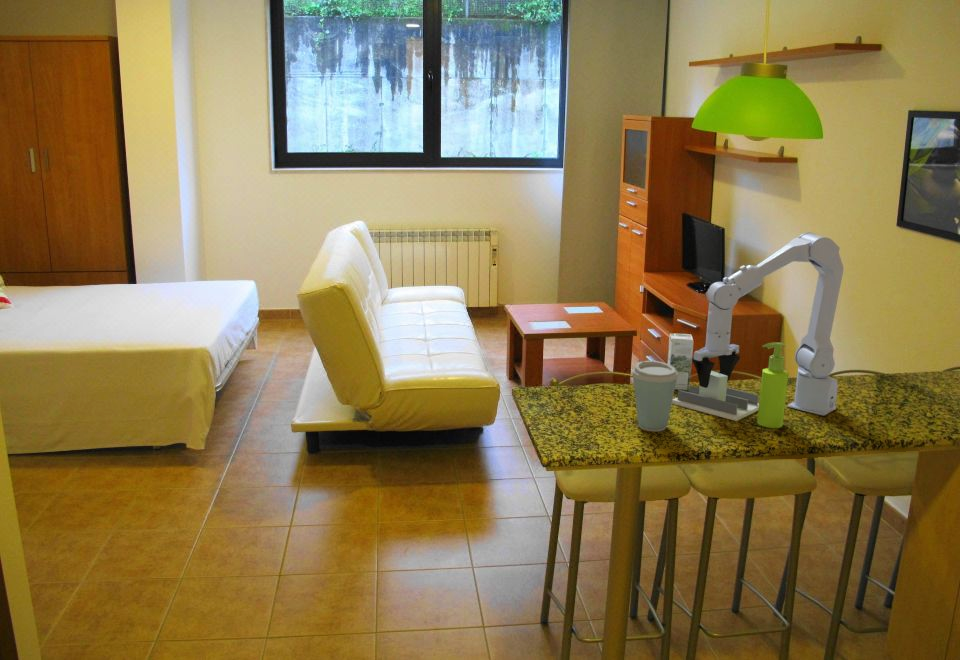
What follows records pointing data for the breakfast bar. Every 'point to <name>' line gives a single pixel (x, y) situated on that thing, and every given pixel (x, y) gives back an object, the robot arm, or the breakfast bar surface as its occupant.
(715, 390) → the white rectangular block
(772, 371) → the soap dispenser
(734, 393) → the dish rack
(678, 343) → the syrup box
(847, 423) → the breakfast bar surface
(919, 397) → the breakfast bar surface
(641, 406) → the disposable coffee cup
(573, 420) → the breakfast bar surface
